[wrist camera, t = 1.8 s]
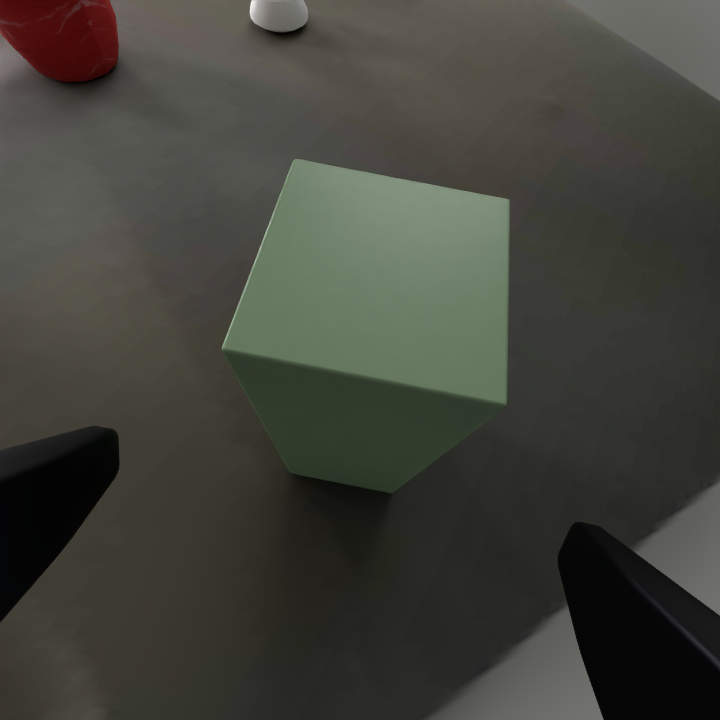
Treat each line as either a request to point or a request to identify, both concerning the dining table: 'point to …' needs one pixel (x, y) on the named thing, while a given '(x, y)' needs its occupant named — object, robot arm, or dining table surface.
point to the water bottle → (62, 36)
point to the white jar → (279, 14)
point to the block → (374, 323)
